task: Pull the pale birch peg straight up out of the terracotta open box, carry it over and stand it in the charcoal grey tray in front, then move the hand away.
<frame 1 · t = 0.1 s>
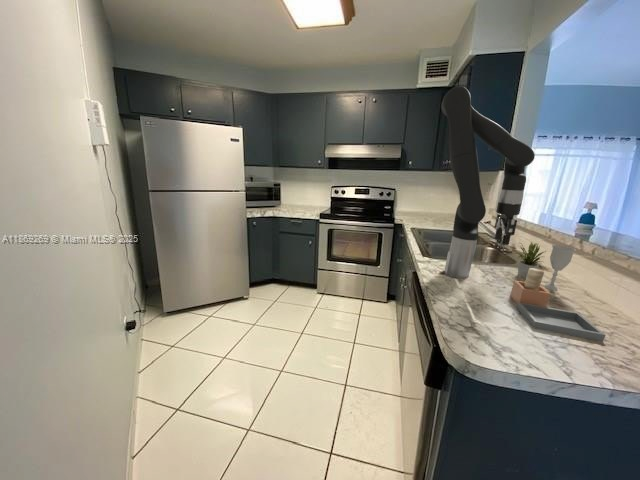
hand: (501, 241, 104), 17 cm above the counter, tool pointing down, fingers open, 8 cm apart
house plant: (522, 275, 118), on the counter
terracotta open box: (526, 304, 89), on the counter
chalice: (549, 290, 103), on the counter
peg: (526, 302, 89), point 1 cm above the counter, touching terracotta open box
tray: (554, 325, 78), on the counter
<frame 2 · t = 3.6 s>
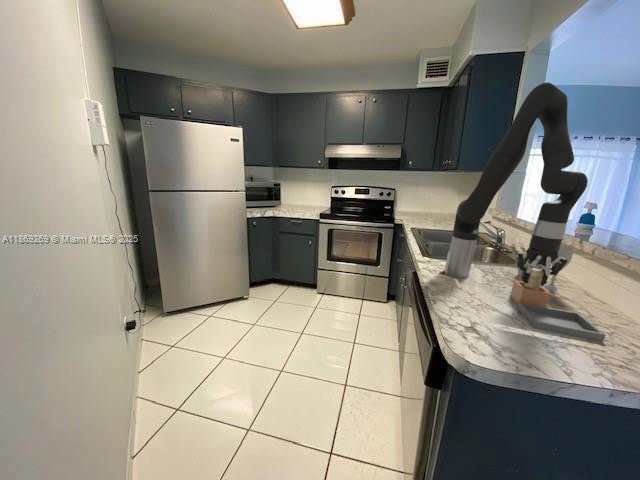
hand: (532, 283, 87), 8 cm above the counter, tool pointing down, fingers closed on peg, 4 cm apart
peg: (526, 302, 89), point 1 cm above the counter, touching terracotta open box, gripper
everything else where it was.
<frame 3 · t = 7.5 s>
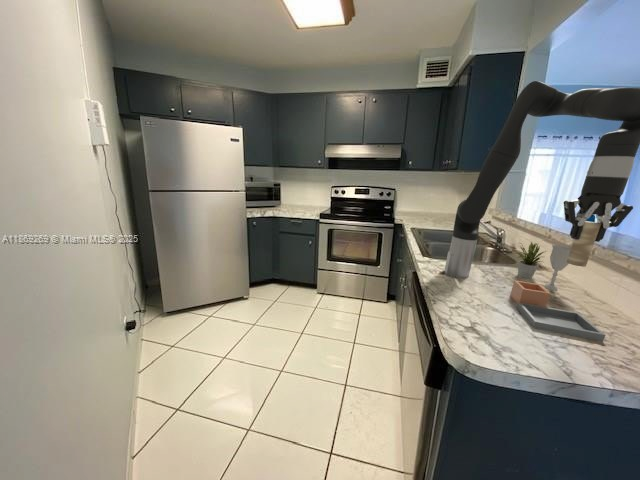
hand: (584, 239, 70), 27 cm above the counter, tool pointing down, fingers closed on peg, 4 cm apart
peg: (576, 263, 72), point 20 cm above the counter, touching gripper
everything else where it was.
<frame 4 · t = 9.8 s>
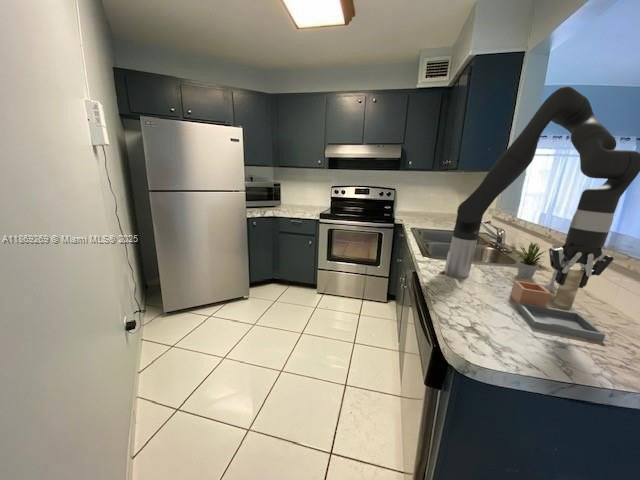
hand: (569, 285, 74), 13 cm above the counter, tool pointing down, fingers closed on peg, 4 cm apart
peg: (561, 307, 76), point 6 cm above the counter, touching gripper
everything else where it was.
when the fingers open (10 cm above the counter, at t = 11.5 s): peg drops 1 cm, resting on tray.
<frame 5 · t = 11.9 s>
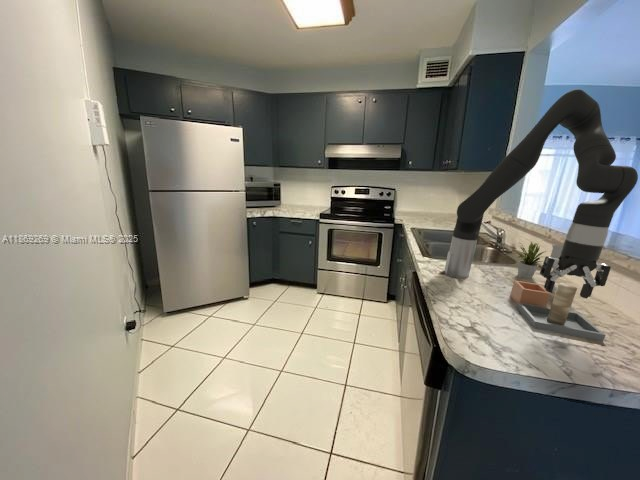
hand: (565, 294, 75), 11 cm above the counter, tool pointing down, fingers open, 8 cm apart
peg: (555, 322, 77), point 1 cm above the counter, touching tray
everything else where it was.
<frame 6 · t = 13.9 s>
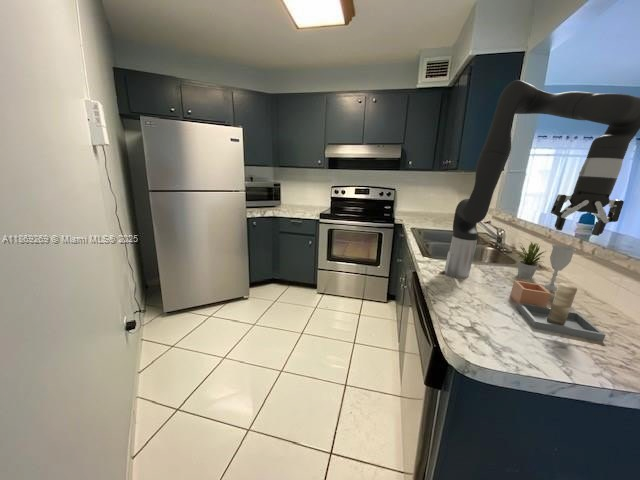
hand: (576, 232, 75), 28 cm above the counter, tool pointing down, fingers open, 8 cm apart
nothing on the counter moved.
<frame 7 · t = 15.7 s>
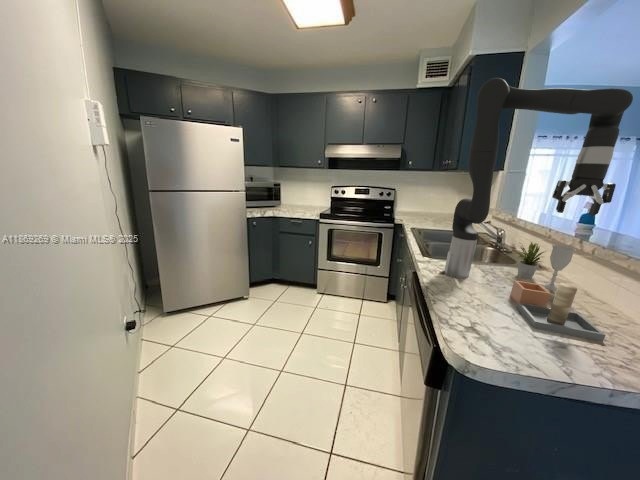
hand: (575, 213, 85), 32 cm above the counter, tool pointing down, fingers open, 8 cm apart
nothing on the counter moved.
at the end: peg inside the target area on the tray (0.2 cm from its centre), point 1.0 cm above the tray's base; the gripper is holding nothing; peg tilted 0° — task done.
